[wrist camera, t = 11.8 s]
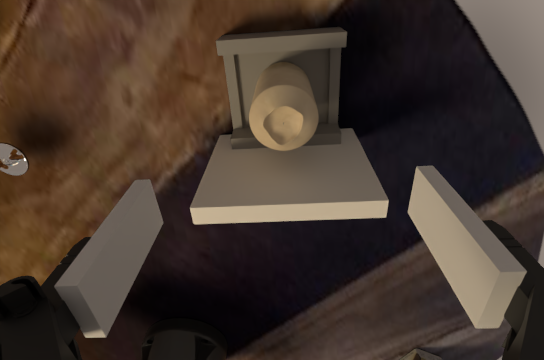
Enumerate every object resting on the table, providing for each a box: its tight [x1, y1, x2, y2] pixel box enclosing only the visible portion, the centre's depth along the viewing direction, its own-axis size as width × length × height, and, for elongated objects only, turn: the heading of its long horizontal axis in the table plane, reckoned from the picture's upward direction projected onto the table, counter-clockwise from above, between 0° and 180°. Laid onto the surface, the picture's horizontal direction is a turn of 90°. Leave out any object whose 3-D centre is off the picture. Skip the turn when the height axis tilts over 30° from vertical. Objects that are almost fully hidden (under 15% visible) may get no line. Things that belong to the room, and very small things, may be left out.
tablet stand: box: [190, 27, 389, 224], centre depth 27 cm, size 15×12×14 cm
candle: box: [249, 62, 319, 151], centre depth 28 cm, size 6×6×10 cm
